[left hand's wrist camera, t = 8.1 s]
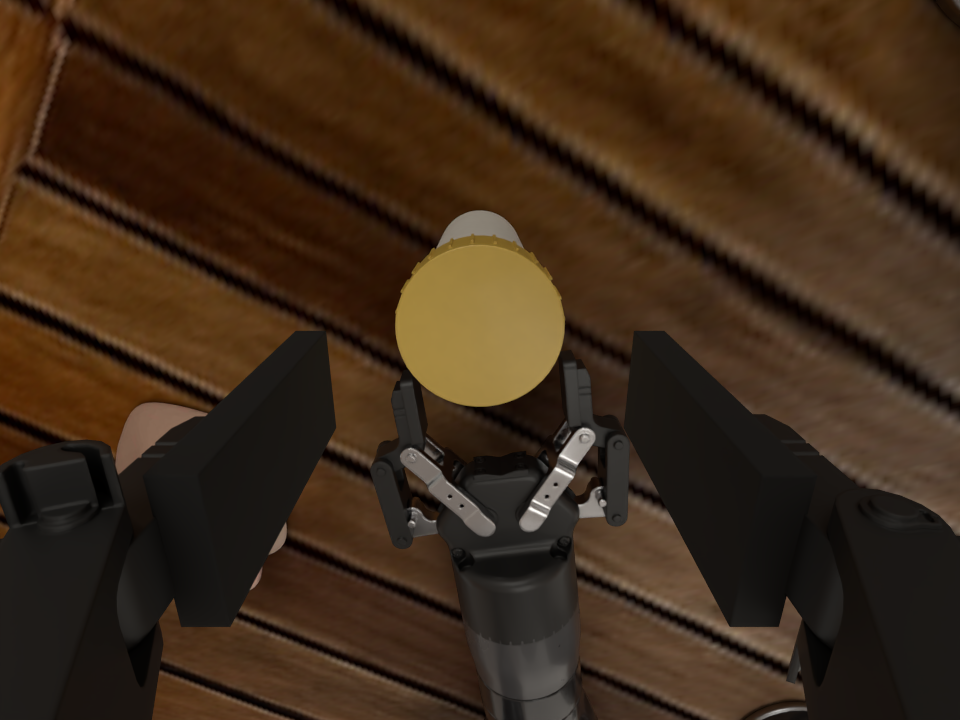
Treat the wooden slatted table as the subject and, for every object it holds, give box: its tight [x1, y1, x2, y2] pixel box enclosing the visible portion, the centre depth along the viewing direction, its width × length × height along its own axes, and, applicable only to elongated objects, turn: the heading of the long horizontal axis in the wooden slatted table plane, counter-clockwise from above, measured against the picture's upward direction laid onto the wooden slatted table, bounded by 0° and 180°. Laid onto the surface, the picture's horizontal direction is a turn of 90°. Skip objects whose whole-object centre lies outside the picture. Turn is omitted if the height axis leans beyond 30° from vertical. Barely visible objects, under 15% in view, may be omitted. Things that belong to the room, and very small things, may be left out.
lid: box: [395, 234, 565, 407], centre depth 19 cm, size 6×6×2 cm
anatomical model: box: [115, 402, 287, 590], centre depth 36 cm, size 13×4×12 cm
